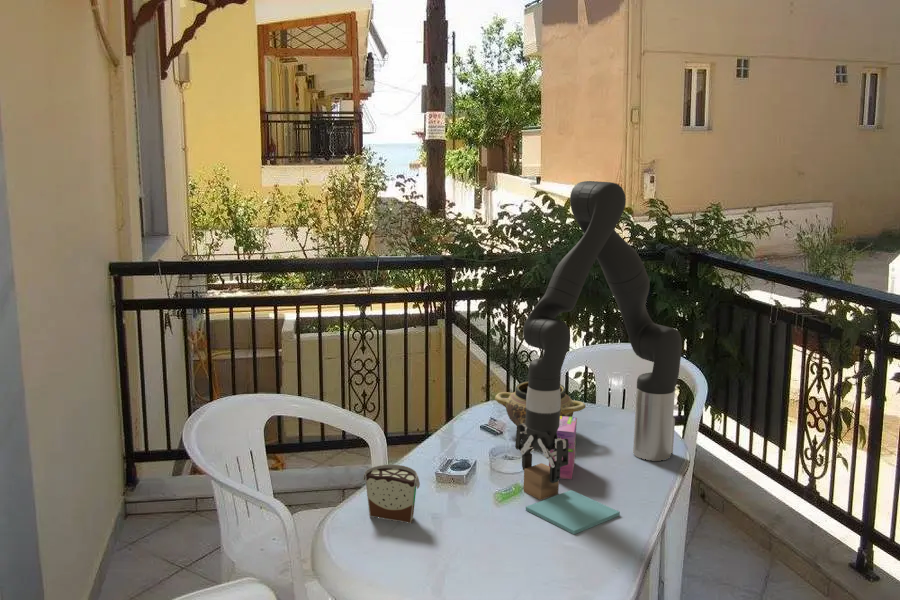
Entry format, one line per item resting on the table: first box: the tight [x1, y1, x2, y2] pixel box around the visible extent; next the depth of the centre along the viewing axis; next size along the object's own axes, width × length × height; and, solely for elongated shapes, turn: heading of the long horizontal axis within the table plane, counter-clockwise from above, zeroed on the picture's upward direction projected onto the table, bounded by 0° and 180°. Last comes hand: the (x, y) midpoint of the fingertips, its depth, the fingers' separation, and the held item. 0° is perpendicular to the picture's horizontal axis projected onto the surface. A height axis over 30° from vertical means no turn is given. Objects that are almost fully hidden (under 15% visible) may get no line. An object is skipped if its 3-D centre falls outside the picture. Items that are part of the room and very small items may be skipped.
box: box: [548, 416, 578, 480], centre depth 203 cm, size 10×6×12 cm, turn 168°
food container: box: [362, 464, 421, 524], centre depth 179 cm, size 12×6×10 cm, turn 71°
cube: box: [523, 462, 560, 501], centre depth 191 cm, size 6×6×6 cm
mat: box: [525, 489, 621, 535], centre depth 181 cm, size 14×14×1 cm
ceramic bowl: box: [494, 380, 587, 438], centre depth 227 cm, size 24×18×15 cm
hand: (540, 475), depth 190 cm, fingers open, 8 cm apart
